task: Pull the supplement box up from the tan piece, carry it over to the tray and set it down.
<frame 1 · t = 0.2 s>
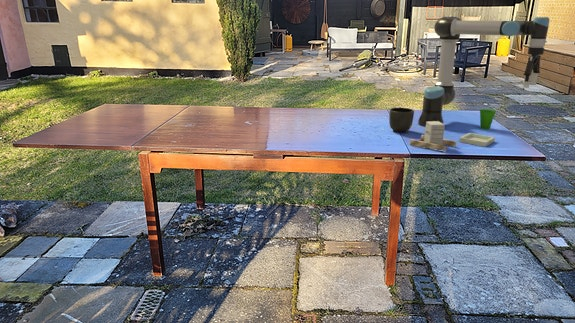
hand: (529, 86, 238), 28 cm above the table, fingers open, 13 cm apart
tray: (476, 141, 232), on the table
planter: (399, 131, 254), on the table
tan piece: (432, 146, 224), on the table
supplement box: (432, 146, 225), resting in tan piece
cup: (484, 128, 260), on the table
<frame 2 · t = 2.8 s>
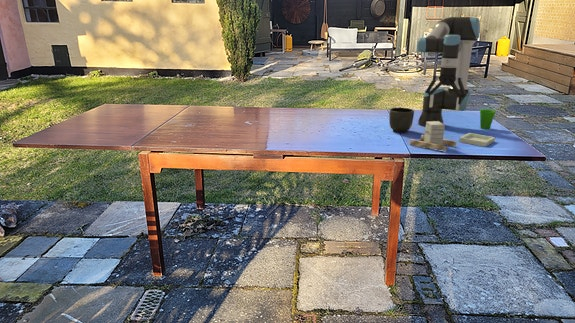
hand: (443, 108, 219), 20 cm above the table, fingers open, 13 cm apart
nothing on the table moved.
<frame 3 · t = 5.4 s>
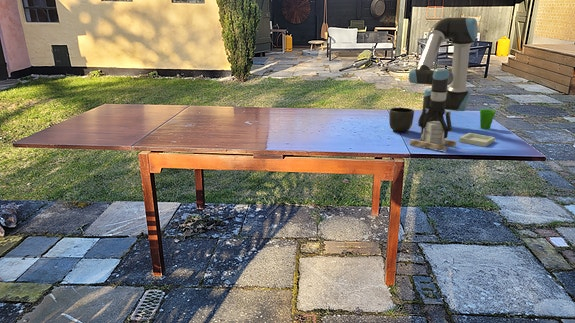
hand: (433, 141, 224), 2 cm above the table, fingers closed on supplement box, 10 cm apart
supplement box: (432, 146, 225), resting in tan piece, touching gripper
everything else where it was.
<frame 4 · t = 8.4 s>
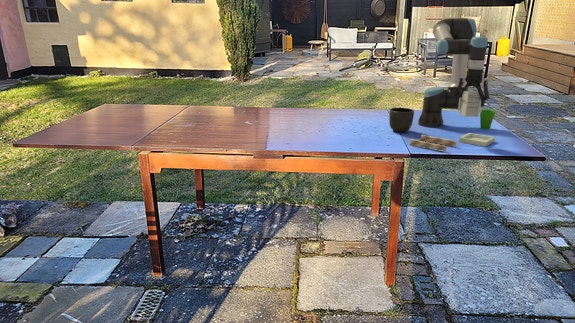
hand: (469, 111, 225), 17 cm above the table, fingers closed on supplement box, 10 cm apart
supplement box: (468, 115, 225), point 15 cm above the table, touching gripper
everything else where it was.
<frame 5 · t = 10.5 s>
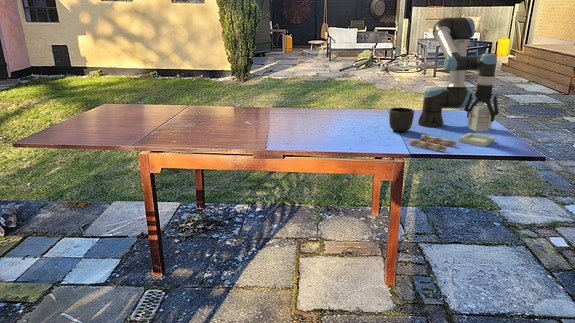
hand: (479, 125, 229), 9 cm above the table, fingers closed on supplement box, 10 cm apart
supplement box: (478, 130, 230), point 7 cm above the table, touching gripper
everything else where it was.
when the fingers open (5 cm above the table, at t = 11.9 s): supplement box drops 2 cm, resting on tray.
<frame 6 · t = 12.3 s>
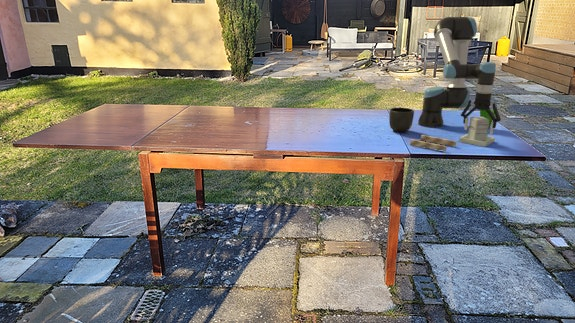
hand: (478, 131, 230), 6 cm above the table, fingers open, 13 cm apart
supplement box: (476, 141, 232), resting on tray
everything else where it was.
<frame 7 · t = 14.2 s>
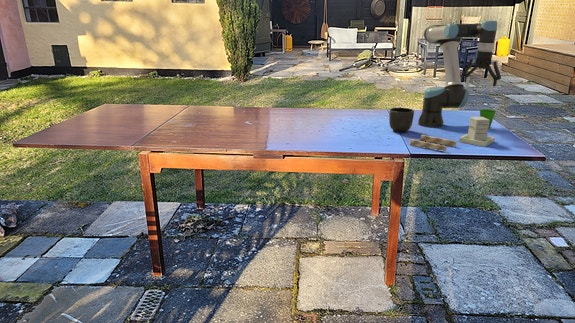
hand: (478, 90, 235), 26 cm above the table, fingers open, 13 cm apart
nothing on the table moved.
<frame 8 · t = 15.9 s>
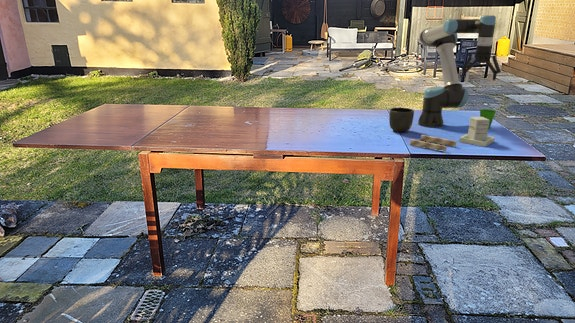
hand: (478, 84, 238), 29 cm above the table, fingers open, 13 cm apart
nothing on the table moved.
at the end: supplement box 0.2 cm from the tray (horizontally); supplement box tilted 0°; supplement box resting on tray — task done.
